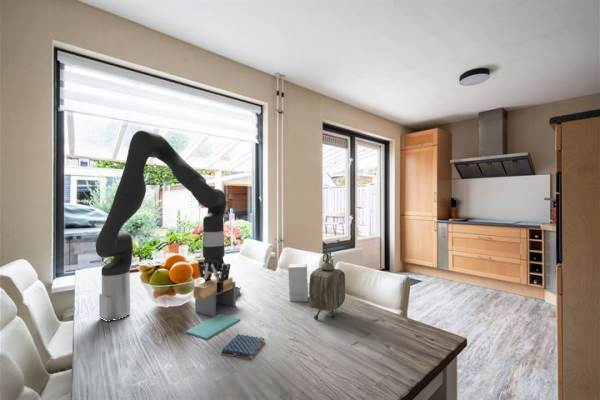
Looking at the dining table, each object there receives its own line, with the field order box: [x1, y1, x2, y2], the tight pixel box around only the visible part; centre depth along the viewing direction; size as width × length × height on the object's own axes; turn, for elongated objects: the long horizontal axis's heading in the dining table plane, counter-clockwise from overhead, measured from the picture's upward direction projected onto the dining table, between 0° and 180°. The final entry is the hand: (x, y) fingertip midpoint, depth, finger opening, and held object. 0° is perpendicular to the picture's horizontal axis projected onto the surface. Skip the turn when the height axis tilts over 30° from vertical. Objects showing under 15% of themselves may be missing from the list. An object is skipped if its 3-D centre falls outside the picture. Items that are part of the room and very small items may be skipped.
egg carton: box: [235, 286, 242, 297], centre depth 128 cm, size 11×8×4 cm
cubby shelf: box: [194, 281, 237, 317], centre depth 113 cm, size 12×10×10 cm
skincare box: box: [287, 263, 309, 302], centre depth 122 cm, size 8×7×16 cm
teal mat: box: [185, 313, 241, 340], centre depth 97 cm, size 16×10×1 cm, turn 151°
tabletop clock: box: [308, 250, 346, 320], centre depth 104 cm, size 14×9×25 cm, turn 149°
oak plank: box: [192, 276, 233, 300], centre depth 97 cm, size 5×14×4 cm, turn 153°
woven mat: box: [220, 333, 266, 360], centre depth 82 cm, size 10×11×2 cm
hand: (214, 290), depth 97 cm, fingers closed on oak plank, 5 cm apart
